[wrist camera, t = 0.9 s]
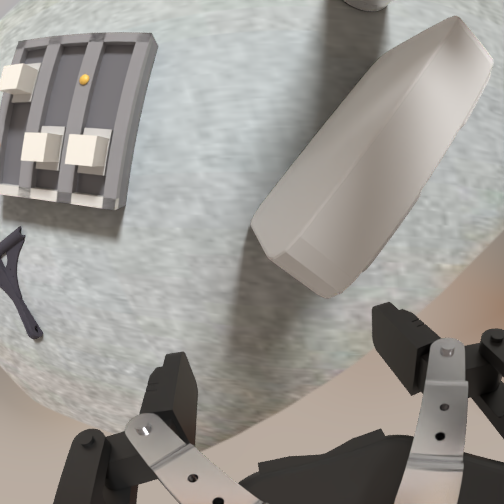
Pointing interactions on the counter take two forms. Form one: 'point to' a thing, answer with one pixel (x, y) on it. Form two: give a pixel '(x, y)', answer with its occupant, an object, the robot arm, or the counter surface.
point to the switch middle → (44, 147)
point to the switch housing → (78, 113)
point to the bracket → (9, 281)
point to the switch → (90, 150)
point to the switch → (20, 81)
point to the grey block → (372, 158)
